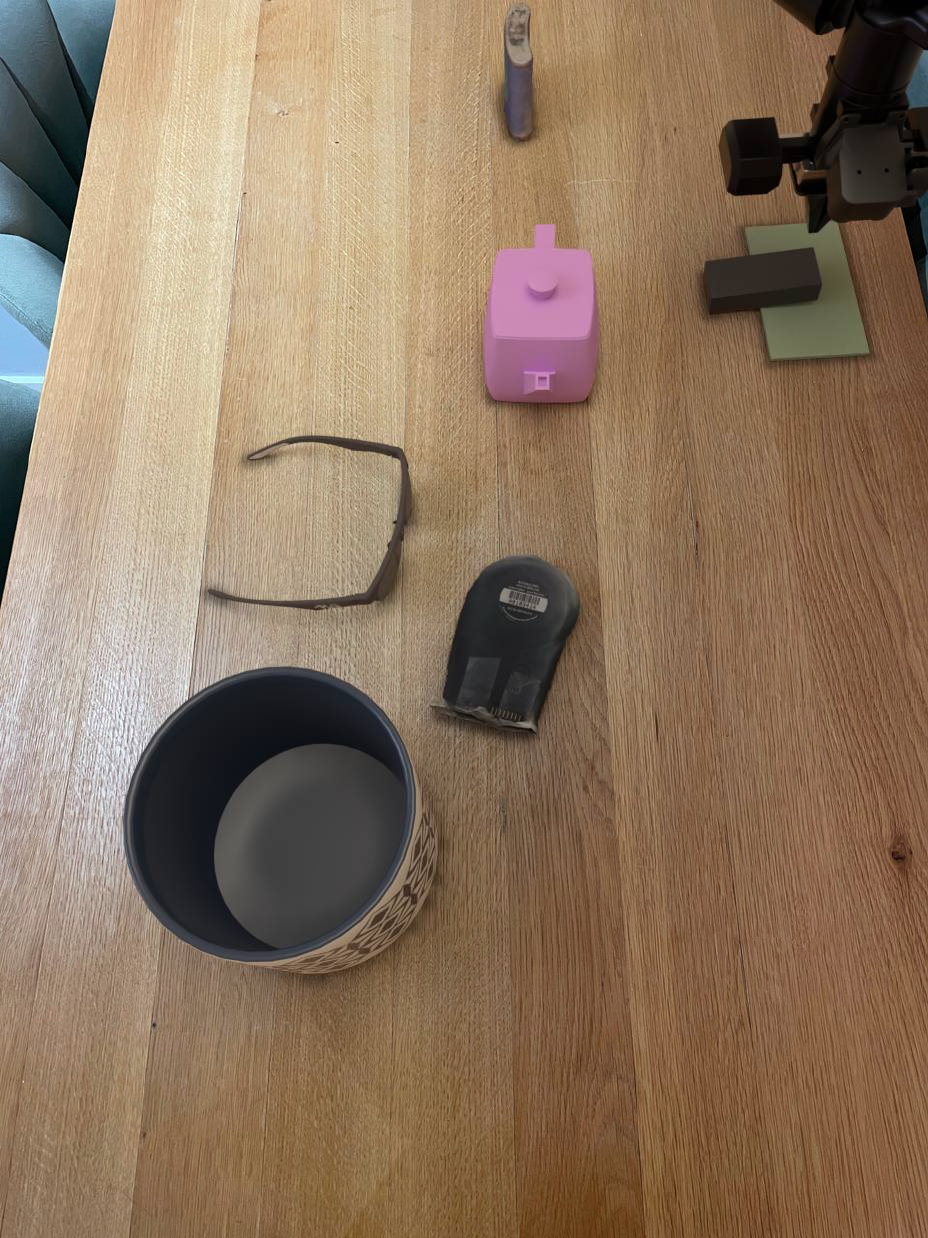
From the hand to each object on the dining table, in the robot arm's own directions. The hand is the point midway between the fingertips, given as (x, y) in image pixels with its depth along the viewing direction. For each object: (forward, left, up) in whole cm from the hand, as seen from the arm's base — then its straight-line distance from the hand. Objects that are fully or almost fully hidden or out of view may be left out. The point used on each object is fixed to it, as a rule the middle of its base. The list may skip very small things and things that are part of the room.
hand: (811, 229), depth 83 cm
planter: (+66, +13, -8) cm, 68 cm away
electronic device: (+44, +10, -8) cm, 46 cm away
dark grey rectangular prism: (-1, +1, -5) cm, 6 cm away
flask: (+3, -36, -8) cm, 37 cm away
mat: (-1, +1, -8) cm, 8 cm away
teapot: (+23, -10, -8) cm, 26 cm away
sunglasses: (+50, -9, -8) cm, 51 cm away
